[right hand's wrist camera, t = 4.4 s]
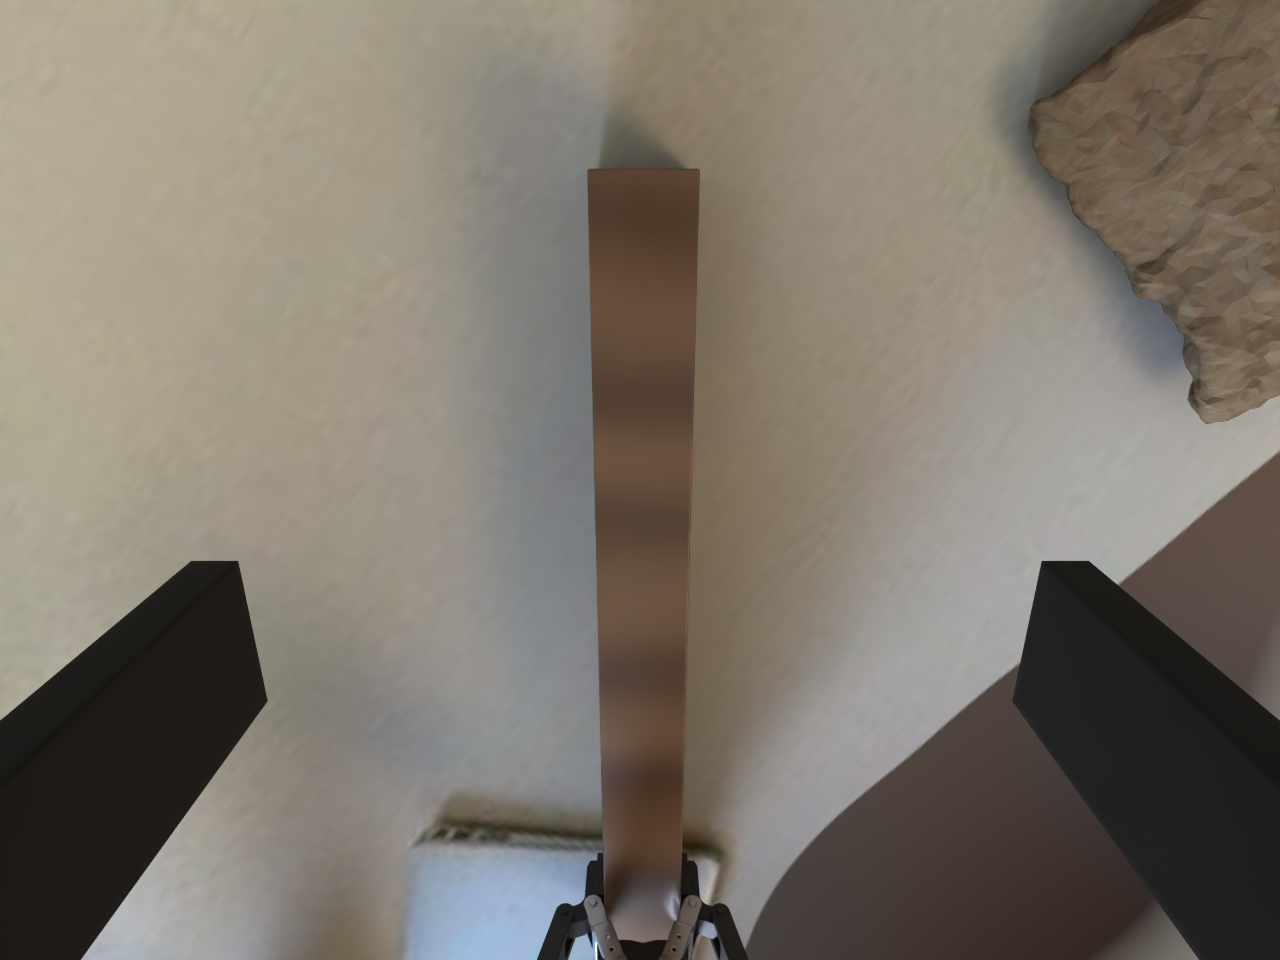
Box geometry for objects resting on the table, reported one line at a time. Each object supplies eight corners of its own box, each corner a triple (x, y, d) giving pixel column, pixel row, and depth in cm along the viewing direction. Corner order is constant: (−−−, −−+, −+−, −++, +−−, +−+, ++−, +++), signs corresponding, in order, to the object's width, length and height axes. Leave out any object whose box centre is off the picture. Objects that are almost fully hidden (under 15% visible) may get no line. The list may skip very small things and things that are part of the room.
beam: (596, 171, 41) (587, 168, 34) (689, 171, 41) (699, 168, 34) (610, 901, 60) (606, 994, 53) (673, 901, 60) (678, 994, 53)
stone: (1498, 259, 39) (1596, 274, 34) (1192, 418, 46) (1233, 452, 40) (1288, -100, 36) (1358, -146, 31) (995, 124, 43) (1011, 118, 38)
